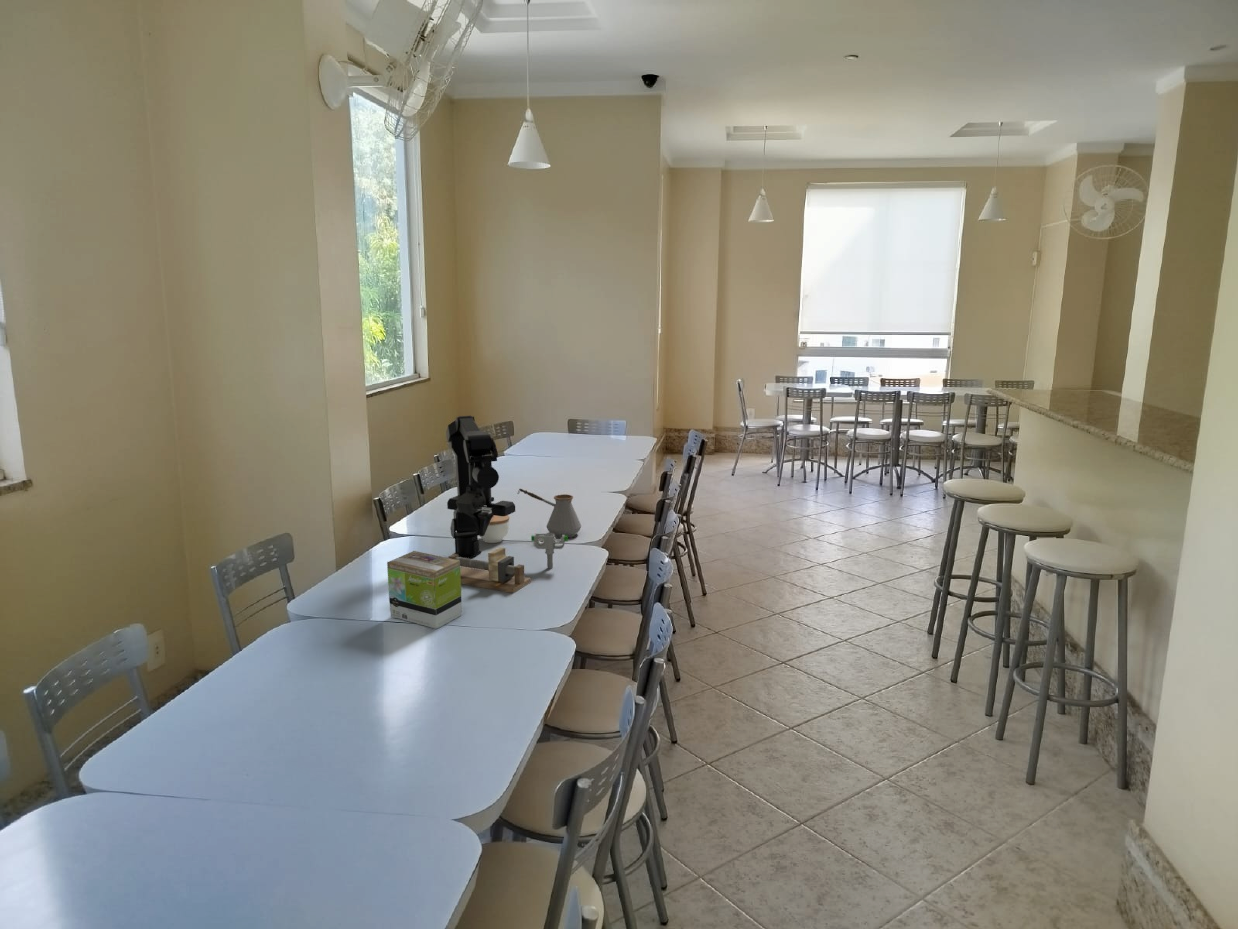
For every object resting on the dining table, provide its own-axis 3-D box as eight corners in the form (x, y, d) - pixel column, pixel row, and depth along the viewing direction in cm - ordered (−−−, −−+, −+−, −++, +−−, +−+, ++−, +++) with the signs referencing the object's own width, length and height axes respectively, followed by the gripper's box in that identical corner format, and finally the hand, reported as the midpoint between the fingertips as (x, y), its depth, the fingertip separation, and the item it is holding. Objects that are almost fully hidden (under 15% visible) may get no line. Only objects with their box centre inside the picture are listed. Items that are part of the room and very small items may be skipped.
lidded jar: (470, 543, 253) (469, 515, 251) (485, 534, 263) (484, 506, 261) (501, 546, 250) (500, 517, 248) (515, 536, 260) (514, 509, 258)
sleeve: (489, 579, 215) (488, 552, 214) (499, 573, 220) (499, 547, 218) (498, 581, 214) (497, 554, 212) (509, 575, 219) (508, 548, 217)
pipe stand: (442, 580, 220) (441, 559, 219) (461, 570, 228) (460, 550, 227) (513, 593, 210) (512, 571, 209) (530, 582, 218) (530, 561, 217)
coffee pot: (584, 530, 267) (584, 487, 264) (576, 540, 256) (576, 495, 253) (523, 527, 271) (522, 484, 268) (513, 536, 260) (512, 492, 257)
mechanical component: (567, 569, 228) (566, 536, 226) (531, 569, 229) (530, 536, 227) (568, 566, 231) (567, 533, 229) (533, 566, 232) (532, 533, 229)
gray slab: (498, 581, 214) (497, 562, 213) (509, 575, 219) (508, 556, 218) (503, 582, 213) (502, 562, 212) (514, 576, 218) (513, 556, 217)
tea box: (388, 618, 194) (385, 560, 191) (416, 604, 203) (413, 549, 200) (436, 630, 187) (433, 570, 184) (463, 615, 196) (461, 558, 193)
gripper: (433, 483, 211) (436, 539, 214) (492, 490, 203) (494, 548, 206) (458, 474, 221) (460, 528, 224) (515, 481, 213) (517, 537, 216)
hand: (482, 535), depth 217 cm, fingers closed
